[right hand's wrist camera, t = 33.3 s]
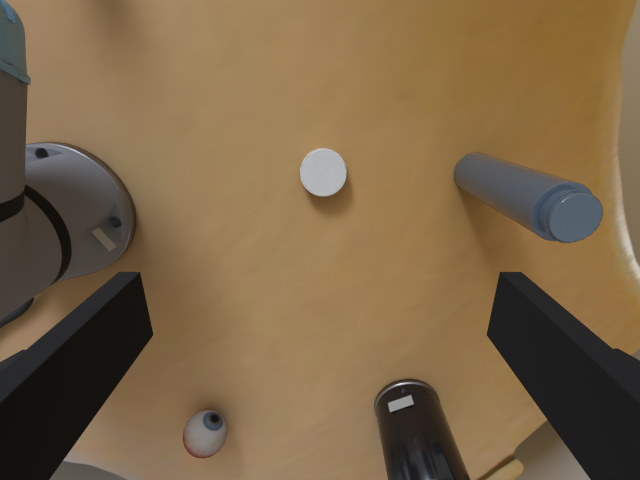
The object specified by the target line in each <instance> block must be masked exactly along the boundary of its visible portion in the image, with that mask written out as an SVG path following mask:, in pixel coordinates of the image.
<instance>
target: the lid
mask: <svg viewBox="0 0 640 480" xmlns="http://www.w3.org/2000/svg"><path fill="white" fill-rule="evenodd" d="M301 165H302V166H301V168H300V177H301V182H302V183H303V185H304V187H305V188H306V189H307V190H308V191H309V192H311V193H312V194H314V195H317V196H329V195H332V194H334V193H336V192H337V191H339V190H340V189H341V187H342V186H343V184H344V182H345V180H346V176H347V175H346V171H347V169H346V167H345V165H346V164H345V163H344V161H343V158H341V157H340V155H339V153H336V152H335V151H333V150H330V149H329V148H328V149H326V148H321V149H318V148H317V149H316V150H314V151H313V150H312V152H310V153H309V154H307V156H306V157H305V158H304V160H303V163H301Z"/></svg>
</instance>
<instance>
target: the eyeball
mask: <svg viewBox="0 0 640 480" xmlns="http://www.w3.org/2000/svg"><path fill="white" fill-rule="evenodd" d="M226 437H227V423H226V420H225V419H224V417H223V416H222V415H221V414H220V413H219V412H217V411H214V410H202V411H200V412H198V413H196V414H195V415H193V416H192V417H191V418H190V420H189V421H188V422H187V424H186V426H185V429H184V432H183V442H184V446H185V448H186V450H187V451H188V453H190V454H191V455H192V456H194V457H197V458H207V457H210V456H212V455H214V454H215V453H217V452H218V451H219V450H220V449H221V447H222V446H223V445H224V443H225V440H226Z"/></svg>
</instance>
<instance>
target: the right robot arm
mask: <svg viewBox="0 0 640 480" xmlns="http://www.w3.org/2000/svg"><path fill="white" fill-rule="evenodd" d="M30 82H31V80H30V77H29V76H28V75H27V67H26V50H25V31H24V27H23V24H22V21H21V19H20V17H19V16H18V14H17V13H16V11H15V10H14V9H13V8H12V7H11V5H10V4H9V3H8V2H7V1H5V0H0V328H1V327H2V326H4V325H6V324H7V323H9V322H11V321H13V320H14V319H16V318H18V317H19V316H21V315H22V314H23V313H24V312H25V311H26V310H27V309H28V308H29V307H30V306H31V304H32V302H33V300H34V297H35V296H36V295H37V294H39V293H40V292H42V291H43V290H45V289H46V288H47V287H49V286H50V285H52V284H53V283H55V282H58V281H62V280H66V279H70V278H74V277H78V276H83V275H87V274H91V273H94V272H96V271H99V270H101V269H103V268H105V267H107V266H109V265H110V264H112V263H113V262H114V261H116V260H117V259H118V258H119V257H121V256H122V255H123V254H124V253H125V251H126V250H127V249H128V247H129V245H130V244H131V241H132V239H133V236H134V232H135V224H136V220H135V211H134V206H133V203H132V200H131V197H130V195H129V193H128V191H127V189H126V187H125V185H124V184H123V182H122V181H121V180H120V178H119V177H118V176H117V175H116V173H115V172H114V171H113V170H112V169H111V168H110V167H109V166H108V165H107V164H105V163H104V162H103V161H102V160H100V159H99V158H98V157H96V156H94V155H93V154H91V153H89V152H88V151H86V150H83V149H81V148H79V147H76V146H73V145H70V144H66V143H60V142H40V143H33V144H27V145H26V115H27V85H30ZM152 336H153V331H152V327H151V322H150V317H149V312H148V308H147V303H146V298H145V294H144V289H143V284H142V279H141V275H140V272H118V273H117V274H116V275H115V276H114V277H112V278H111V279H110V280H109V281H108V282H107V283H105V284H104V285H103V286H102V287H101V288H99V289H98V290H97V291H96V292H95V293H93V294H92V295H91V296H90V297H89V298H87V299H86V300H85V301H84V302H83V303H82V304H80V305H79V306H78V307H77V308H76V309H74V310H73V311H72V312H71V313H70V314H68V315H67V316H66V317H65V318H64V319H62V320H61V321H60V322H59V323H58V324H57V325H55V326H54V327H53V328H52V329H51V330H49V331H48V332H47V333H46V334H45V335H43V336H42V337H41V338H40V339H39V340H37V341H36V342H35V343H34V344H33V345H32V346H30V347H29V348H28V349H27V350H22V351H20V352H18V353H16V354H14V355H12V356H11V357H9V358H7V359H5V360H3V361H2V362H0V480H49V479H50V478H51V476H52V475H53V474H54V472H55V471H56V469H57V468H58V467H59V465H60V464H61V462H62V461H63V460H64V458H65V457H66V455H67V454H68V453H69V451H70V450H71V449H72V447H73V446H74V444H75V443H76V442H77V440H78V439H79V437H80V436H81V435H82V433H83V432H84V430H85V429H86V428H87V426H88V425H89V423H90V422H91V421H92V419H93V418H94V417H95V415H96V414H97V412H98V411H99V410H100V408H101V407H102V405H103V404H104V403H105V401H106V400H107V398H108V397H109V396H110V394H111V393H112V392H113V390H114V389H115V387H116V386H117V385H118V383H119V382H120V380H121V379H122V378H123V376H124V375H125V373H126V372H127V371H128V369H129V368H130V367H131V365H132V364H133V362H134V361H135V360H136V358H137V357H138V355H139V354H140V353H141V351H142V350H143V348H144V347H145V346H146V344H147V343H148V341H149V340H150V339H151V337H152ZM487 336H488V337H489V339H490V340H491V341H492V343H493V344H494V346H495V347H496V348H497V350H498V351H499V353H500V354H501V355H502V357H503V358H504V360H505V361H506V362H507V364H508V365H509V367H510V368H511V369H512V371H513V372H514V373H515V375H516V376H517V378H518V379H519V380H520V382H521V383H522V385H523V386H524V387H525V389H526V390H527V392H528V393H529V394H530V396H531V397H532V398H533V400H534V401H535V403H536V404H537V405H538V407H539V408H540V410H541V411H542V412H543V414H544V415H545V417H546V418H547V419H548V421H549V422H550V423H551V425H552V426H553V427H554V429H555V430H556V432H557V433H558V435H559V436H560V437H561V439H562V440H563V442H564V443H565V444H566V446H567V447H568V448H569V450H570V451H571V453H572V454H573V455H574V457H575V458H576V460H577V461H578V462H579V464H580V465H581V467H582V468H583V469H584V471H585V472H586V474H587V475H588V476H589V478H590V479H591V480H640V361H639V360H637V359H636V358H634V357H632V356H630V355H628V354H627V353H625V352H623V351H621V350H619V349H612V348H611V347H610V346H608V345H607V344H606V343H605V342H604V341H603V340H601V339H600V338H599V337H598V336H597V335H595V334H594V333H593V332H592V331H591V330H589V329H588V328H587V327H586V326H585V325H583V324H582V323H581V322H580V321H579V320H578V319H576V318H575V317H574V316H573V315H572V314H570V313H569V312H568V311H567V310H566V309H564V308H563V307H562V306H561V305H560V304H558V303H557V302H556V301H555V300H554V299H553V298H551V297H550V296H549V295H548V294H547V293H545V292H544V291H543V290H542V289H541V288H539V287H538V286H537V285H536V284H535V283H533V282H532V281H531V280H530V279H529V278H528V277H526V276H525V275H524V274H523V273H522V272H500V275H499V279H498V284H497V289H496V294H495V298H494V303H493V308H492V312H491V317H490V322H489V327H488V331H487Z"/></svg>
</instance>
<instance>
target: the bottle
mask: <svg viewBox="0 0 640 480" xmlns="http://www.w3.org/2000/svg"><path fill="white" fill-rule="evenodd" d="M454 179H455V182H456V184H457V185H458V187H459V188H461V189H462V190H464V191H465V192H467V193H469V194H470V195H472V196H474V197H475V198H477V199H479V200H480V201H482V202H484V203H485V204H487V205H489V206H490V207H492V208H493V209H495V210H497V211H498V212H500V213H502V214H503V215H505V216H507V217H508V218H510V219H512V220H513V221H515V222H517V223H518V224H520V225H521V226H523V227H525V228H526V229H528V230H530V231H531V232H533V233H535V234H536V235H538V236H540V237H541V238H543V239H546V240H549V241H559V242H564V243H571V242H577V241H579V240H583V239H584V238H586V237H588V236H590V235H591V234H592V233H593V232H594V231H595V230H596V229H597V228H598V226H599V225H600V222H601V219H602V215H603V209H602V205H601V203H600V201H599V200H598V199H597V198H596V197H595V196H593V195H592V193H591V191H590V190H589V189H588V188H587V187H586V186H584V185H582V184H580V183H577V182H573V181H570V180H567V179H564V178H561V177H557V176H554V175H551V174H548V173H544V172H541V171H538V170H535V169H531V168H528V167H525V166H522V165H518V164H515V163H512V162H509V161H506V160H502V159H499V158H496V157H493V156H489V155H486V154H483V153H477V152H476V153H471V154H468V155H466V156H464V157H463V158H462V159H461V160H460V161H459V162H458V164H457V165H456V167H455V171H454Z"/></svg>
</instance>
